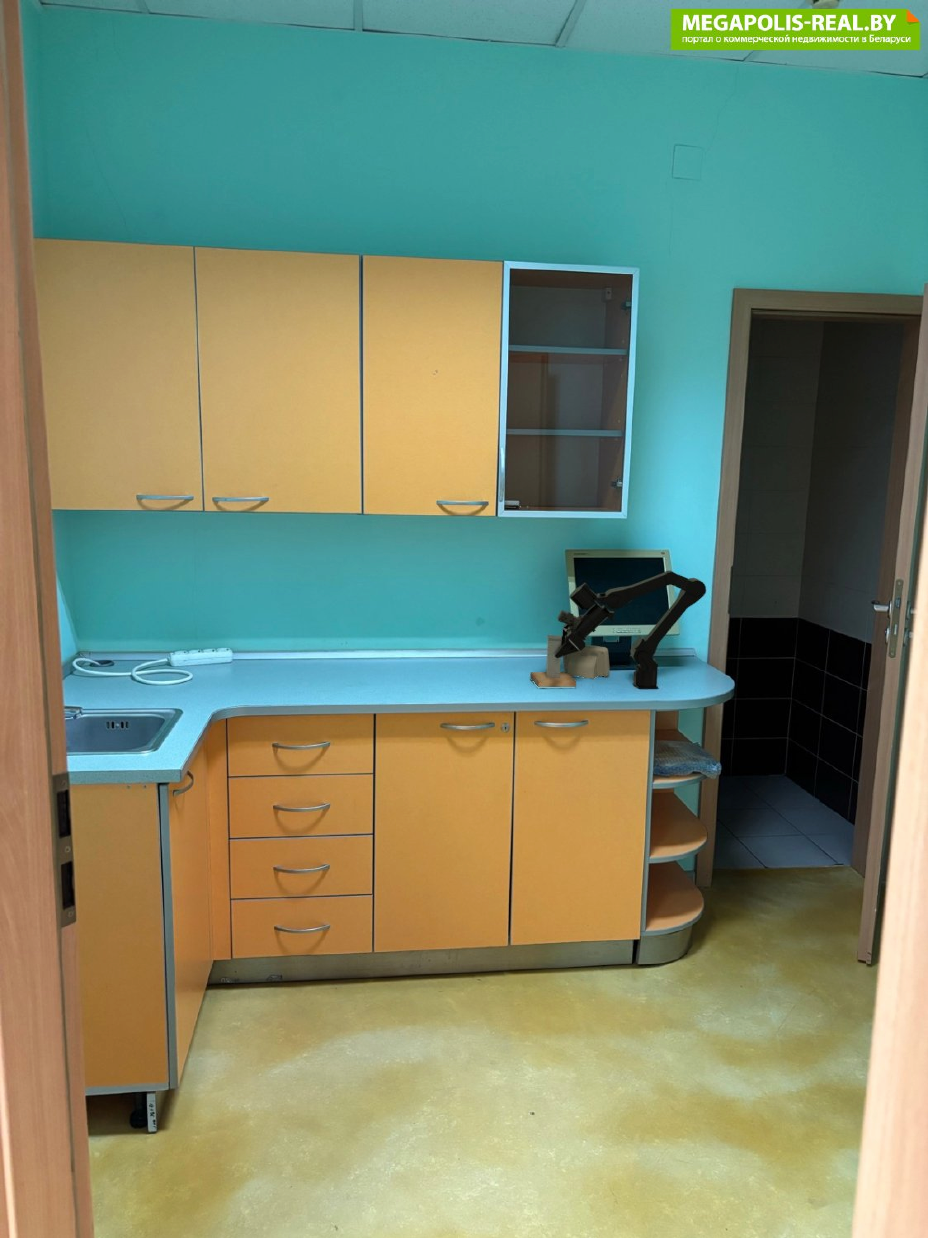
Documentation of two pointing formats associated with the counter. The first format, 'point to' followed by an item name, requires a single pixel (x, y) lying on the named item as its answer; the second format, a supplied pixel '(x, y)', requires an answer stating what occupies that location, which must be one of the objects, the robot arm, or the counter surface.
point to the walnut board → (553, 680)
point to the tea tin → (553, 656)
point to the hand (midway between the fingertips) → (554, 654)
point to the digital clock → (588, 662)
